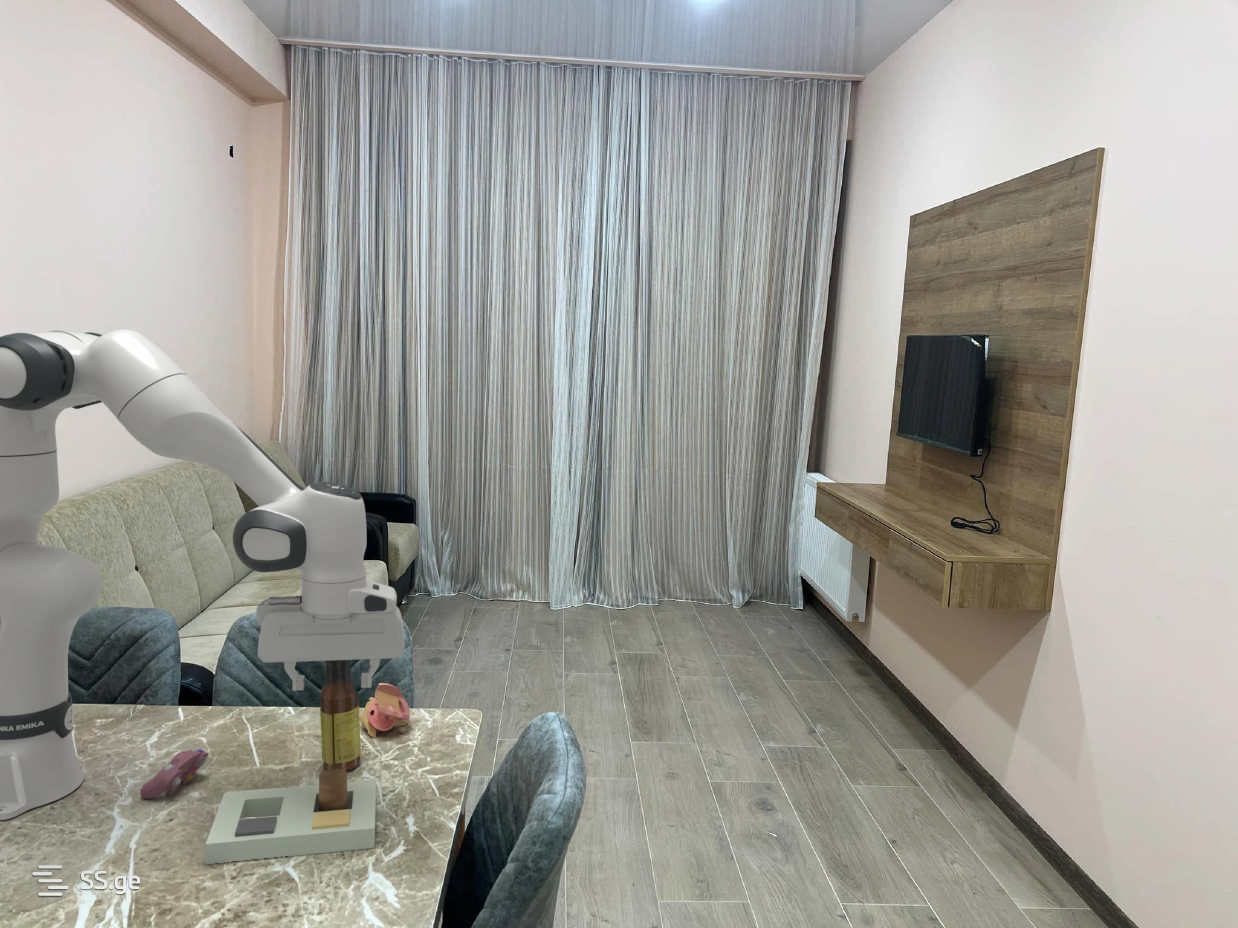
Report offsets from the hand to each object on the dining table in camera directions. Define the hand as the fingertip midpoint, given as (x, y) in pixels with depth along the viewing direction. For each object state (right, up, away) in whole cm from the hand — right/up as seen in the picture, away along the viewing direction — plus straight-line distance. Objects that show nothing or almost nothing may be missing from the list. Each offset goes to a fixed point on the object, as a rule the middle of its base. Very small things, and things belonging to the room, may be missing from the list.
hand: (332, 687), depth 126 cm
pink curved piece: (-28, -19, +11) cm, 36 cm away
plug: (-1, -21, +3) cm, 21 cm away
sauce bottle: (-5, -18, +20) cm, 28 cm away
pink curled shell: (-1, -17, +34) cm, 38 cm away
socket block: (-5, -21, 0) cm, 21 cm away
